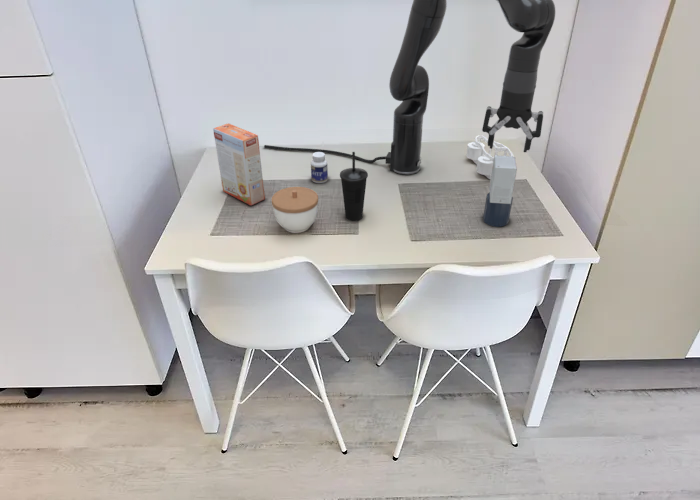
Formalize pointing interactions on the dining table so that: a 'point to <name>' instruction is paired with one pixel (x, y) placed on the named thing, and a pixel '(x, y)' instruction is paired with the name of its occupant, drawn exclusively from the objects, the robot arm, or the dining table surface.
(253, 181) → the cracker box
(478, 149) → the skeletal toy car
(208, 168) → the dining table surface
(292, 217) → the lidded bowl
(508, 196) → the small box
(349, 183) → the drinking cup
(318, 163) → the pill bottle
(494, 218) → the coffee cup
